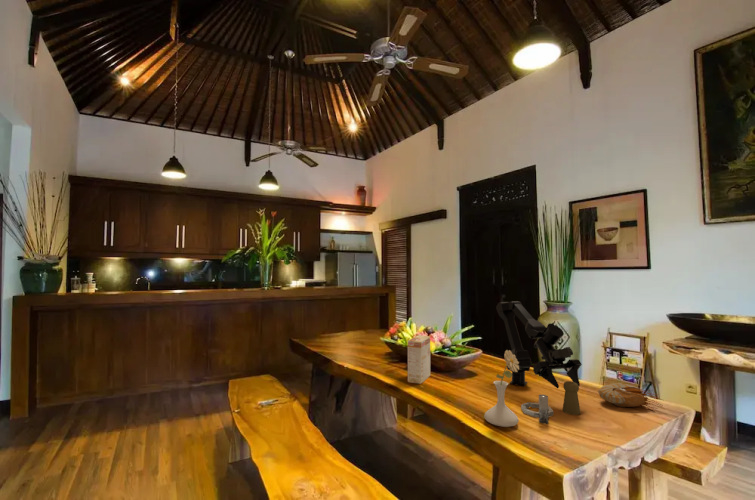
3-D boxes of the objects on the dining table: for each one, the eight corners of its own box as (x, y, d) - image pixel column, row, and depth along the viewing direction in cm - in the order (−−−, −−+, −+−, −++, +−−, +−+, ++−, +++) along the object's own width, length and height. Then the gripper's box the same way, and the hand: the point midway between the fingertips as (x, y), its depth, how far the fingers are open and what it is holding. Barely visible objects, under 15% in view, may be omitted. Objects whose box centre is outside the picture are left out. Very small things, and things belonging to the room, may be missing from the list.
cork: (579, 409, 138) (578, 380, 139) (582, 416, 133) (581, 385, 133) (561, 407, 140) (560, 379, 141) (563, 413, 135) (563, 383, 135)
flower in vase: (500, 432, 119) (499, 355, 120) (477, 419, 129) (476, 348, 131) (529, 426, 124) (528, 352, 125) (505, 413, 135) (505, 345, 136)
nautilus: (666, 409, 140) (663, 424, 129) (602, 393, 155) (594, 404, 144) (667, 389, 140) (664, 402, 129) (603, 374, 155) (595, 385, 144)
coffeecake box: (417, 373, 184) (417, 334, 185) (431, 375, 181) (430, 336, 182) (406, 382, 171) (406, 340, 172) (421, 384, 168) (421, 341, 169)
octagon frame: (519, 405, 142) (519, 382, 143) (547, 407, 140) (547, 384, 141) (529, 422, 127) (528, 396, 127) (560, 425, 125) (560, 398, 125)
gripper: (537, 340, 142) (557, 377, 131) (577, 338, 146) (600, 374, 135) (525, 356, 149) (543, 392, 138) (563, 354, 154) (584, 389, 142)
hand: (568, 386), depth 138 cm, fingers open, 9 cm apart
